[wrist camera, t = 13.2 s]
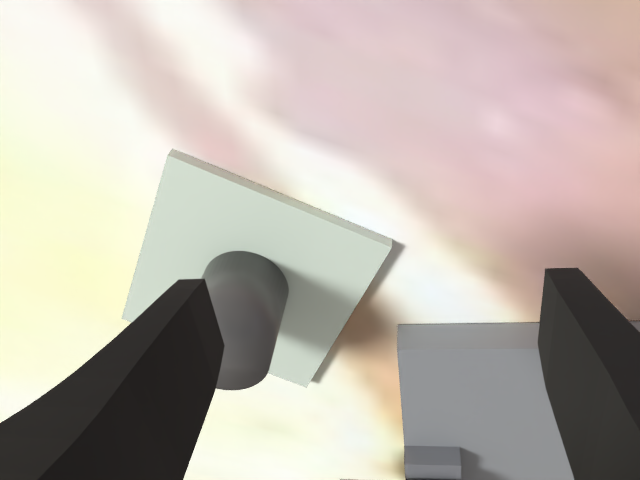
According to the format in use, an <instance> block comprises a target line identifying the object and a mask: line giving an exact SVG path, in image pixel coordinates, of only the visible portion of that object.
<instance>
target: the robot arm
mask: <svg viewBox="0 0 640 480" xmlns="http://www.w3.org/2000/svg"><path fill="white" fill-rule="evenodd" d="M224 347H225V345H224V342H223V338H222V335H221V332H220V328H219V325H218V322H217V318H216V315H215V311H214V308H213V305H212V301H211V298H210V295H209V291H208V288H207V284H206V281H205V279H179V280H178V281H176V282H175V283H174V284H173V285H172V286H171V287H170V288H168V289H167V290H166V291H165V292H164V293H163V294H162V295H161V296H160V297H159V298H158V299H157V300H155V301H154V302H153V303H152V304H151V305H150V306H149V307H148V308H147V309H146V310H145V311H144V312H143V313H142V314H141V315H139V316H138V317H137V318H136V319H135V320H134V321H133V322H132V323H131V324H130V325H129V326H127V327H126V328H125V329H124V330H123V331H122V332H121V333H120V334H119V335H118V336H117V337H115V338H114V339H113V340H112V341H111V342H110V343H109V344H107V345H106V346H105V347H104V348H103V349H101V350H100V351H99V352H98V353H97V354H95V355H94V356H93V357H92V358H91V359H90V360H88V361H87V362H86V363H85V364H84V365H82V366H81V367H80V368H79V369H78V370H76V371H75V372H74V373H73V374H71V375H70V376H69V377H67V378H66V379H65V380H63V381H62V382H61V383H59V384H58V385H57V386H55V387H54V388H53V389H51V390H50V391H48V392H47V393H46V394H44V395H43V396H41V397H40V398H39V399H37V400H36V401H34V402H33V403H31V404H30V405H28V406H27V407H25V408H24V409H22V410H21V411H19V412H17V413H16V414H14V415H13V416H11V417H9V418H8V419H6V420H5V421H3V422H1V423H0V480H183V478H184V475H185V472H186V470H187V467H188V464H189V461H190V459H191V456H192V453H193V450H194V448H195V445H196V442H197V439H198V437H199V434H200V431H201V428H202V426H203V423H204V420H205V417H206V415H207V412H208V409H209V406H210V403H211V400H212V398H213V395H214V392H215V389H216V385H217V381H218V376H219V372H220V368H221V363H222V357H223V352H224ZM538 349H539V355H540V360H541V366H542V372H543V377H544V382H545V387H546V391H547V394H548V397H549V401H550V404H551V407H552V410H553V414H554V417H555V420H556V423H557V426H558V429H559V433H560V436H561V439H562V442H563V445H564V448H565V451H566V455H567V458H568V461H569V464H570V467H571V470H572V473H573V477H574V480H640V332H639V331H638V330H637V329H636V328H635V327H634V326H633V325H632V324H631V323H630V322H629V321H628V320H627V319H626V318H625V317H624V316H623V315H622V314H621V313H620V312H619V311H618V310H617V309H616V308H615V307H614V306H613V305H612V303H611V302H610V301H609V300H608V299H607V298H606V297H605V296H604V295H603V294H602V293H601V292H600V291H599V290H598V289H597V288H596V286H595V285H594V284H593V283H592V282H591V281H590V280H589V279H588V278H587V277H586V276H585V275H584V274H583V272H581V271H580V270H579V269H578V268H554V269H545V277H544V287H543V296H542V306H541V315H540V325H539V334H538Z"/></svg>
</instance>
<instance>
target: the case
mask: <svg viewBox="0 0 640 480" xmlns="http://www.w3.org/2000/svg"><path fill="white" fill-rule="evenodd" d="M629 322H630V323H631V324H632V325H633V326H634V327H635V328H636V329H637V330H638V331H639V332H640V321H629ZM539 325H540V323H476V324H407V325H398V335H397V352H398V366H399V379H400V392H401V406H402V419H403V432H404V465H405V478H406V480H574V477H573V473H572V470H571V467H570V464H569V461H568V458H567V455H566V451H565V448H564V445H563V442H562V439H561V436H560V433H559V429H558V426H557V423H556V420H555V417H554V414H553V410H552V407H551V404H550V401H549V397H548V394H547V391H546V387H545V382H544V377H543V372H542V366H541V360H540V355H539V349H538V334H539Z"/></svg>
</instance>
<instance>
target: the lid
mask: <svg viewBox="0 0 640 480" xmlns="http://www.w3.org/2000/svg"><path fill="white" fill-rule="evenodd" d="M391 248H392V239H390V238H387V237H385V236H383V235H380V234H378V233H375V232H373V231H371V230H368V229H366V228H363V227H361V226H358V225H356V224H354V223H351V222H349V221H346V220H344V219H341V218H339V217H337V216H334V215H332V214H329V213H327V212H324V211H322V210H320V209H317V208H315V207H312V206H310V205H308V204H305V203H303V202H300V201H298V200H295V199H293V198H291V197H288V196H286V195H283V194H281V193H278V192H276V191H274V190H271V189H269V188H266V187H264V186H262V185H259V184H257V183H254V182H252V181H249V180H247V179H245V178H242V177H240V176H237V175H235V174H232V173H230V172H228V171H225V170H223V169H220V168H218V167H216V166H213V165H211V164H208V163H206V162H203V161H201V160H199V159H196V158H194V157H191V156H189V155H186V154H184V153H182V152H179V151H177V150H174V149H172V150H171V151H170V153H169V154H168V155H167V159H166V163H165V166H164V170H163V173H162V177H161V180H160V184H159V188H158V191H157V195H156V198H155V202H154V205H153V209H152V212H151V216H150V220H149V223H148V227H147V230H146V234H145V237H144V241H143V245H142V248H141V252H140V255H139V259H138V262H137V266H136V269H135V273H134V277H133V280H132V284H131V287H130V291H129V294H128V298H127V302H126V305H125V309H124V312H123V316H122V319H124V320H127V321H129V322H133V321H134V320H135V319H136V318H137V317H138V316H139V315H141V314H142V313H143V312H144V311H145V310H146V309H147V308H148V307H149V306H150V305H151V304H152V303H153V302H154V301H155V300H157V299H158V298H159V297H160V296H161V295H162V294H163V293H164V292H165V291H166V290H167V289H168V288H170V287H171V286H172V285H173V284H174V283H175V282H176V281H178V280H179V279H205V281H206V284H207V288H208V291H209V295H210V298H211V301H212V305H213V308H214V311H215V315H216V318H217V322H218V325H219V328H220V332H221V335H222V338H223V342H224V345H225V347H224V352H223V357H222V363H221V368H220V372H219V376H218V381H217V385H216V388H217V389H223V390H241V389H246V388H249V387H252V386H254V385H256V384H258V383H259V382H260V381H262V380H263V379H264V378H265V376H266V375H267V373H269V374H272V375H274V376H277V377H280V378H282V379H285V380H288V381H290V382H293V383H296V384H298V385H301V386H304V387H307V386H308V384H309V383H310V381H311V379H312V378H313V376H314V374H315V373H316V371H317V369H318V368H319V366H320V365H321V363H322V361H323V360H324V358H325V356H326V355H327V353H328V351H329V350H330V348H331V347H332V345H333V343H334V342H335V340H336V338H337V337H338V335H339V333H340V332H341V330H342V329H343V327H344V325H345V324H346V322H347V320H348V319H349V317H350V315H351V314H352V312H353V311H354V309H355V307H356V306H357V304H358V302H359V301H360V299H361V297H362V296H363V294H364V293H365V291H366V289H367V288H368V286H369V284H370V283H371V281H372V279H373V278H374V276H375V275H376V273H377V271H378V270H379V268H380V266H381V265H382V263H383V261H384V260H385V258H386V257H387V255H388V253H389V252H390V250H391Z"/></svg>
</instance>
